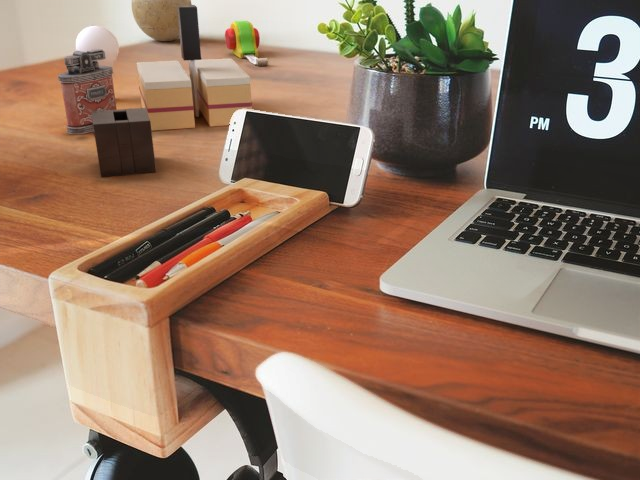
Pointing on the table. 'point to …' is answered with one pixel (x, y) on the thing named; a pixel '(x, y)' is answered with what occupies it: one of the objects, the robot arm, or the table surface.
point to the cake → (176, 93)
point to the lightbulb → (99, 43)
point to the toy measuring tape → (244, 42)
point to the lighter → (86, 89)
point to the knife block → (124, 142)
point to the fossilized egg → (158, 17)
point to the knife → (190, 44)
